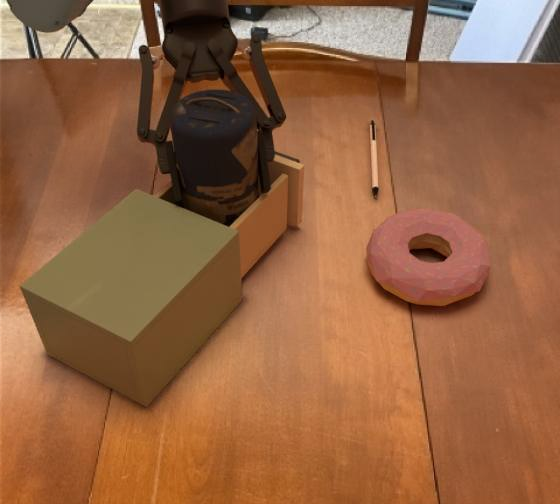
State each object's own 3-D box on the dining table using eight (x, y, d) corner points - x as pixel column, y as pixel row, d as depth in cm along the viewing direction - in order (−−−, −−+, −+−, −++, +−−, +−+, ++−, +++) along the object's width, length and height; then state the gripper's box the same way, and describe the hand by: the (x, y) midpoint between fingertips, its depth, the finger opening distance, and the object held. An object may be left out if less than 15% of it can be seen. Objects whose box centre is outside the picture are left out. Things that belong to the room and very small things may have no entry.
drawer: (237, 173, 97) (235, 116, 90) (317, 204, 93) (321, 147, 86) (141, 263, 85) (130, 206, 78) (228, 303, 81) (224, 246, 74)
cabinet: (148, 258, 87) (135, 188, 79) (242, 300, 83) (239, 230, 74) (46, 354, 77) (19, 285, 69) (146, 407, 73) (130, 341, 64)
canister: (232, 267, 82) (223, 133, 68) (169, 240, 85) (148, 106, 71) (274, 224, 87) (273, 91, 73) (213, 199, 90) (202, 67, 76)
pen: (374, 123, 107) (375, 117, 106) (378, 199, 95) (379, 192, 94) (369, 123, 107) (370, 117, 106) (372, 199, 95) (373, 192, 94)
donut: (460, 331, 80) (470, 302, 76) (344, 286, 84) (347, 256, 81) (501, 254, 88) (511, 224, 85) (393, 217, 93) (398, 186, 89)
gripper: (284, -2, 81) (310, 190, 83) (94, 15, 78) (127, 213, 80) (294, -33, 73) (323, 178, 76) (85, -15, 70) (122, 204, 73)
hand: (222, 196), depth 78 cm, fingers closed on canister, 9 cm apart
